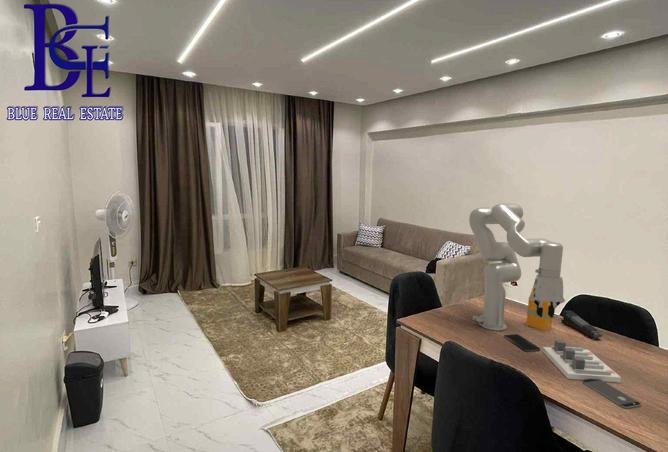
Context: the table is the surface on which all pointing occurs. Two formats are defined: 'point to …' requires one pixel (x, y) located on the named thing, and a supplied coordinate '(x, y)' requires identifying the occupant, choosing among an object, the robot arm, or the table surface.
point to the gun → (580, 324)
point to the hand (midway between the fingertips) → (545, 315)
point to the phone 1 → (522, 343)
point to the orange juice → (534, 319)
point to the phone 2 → (611, 393)
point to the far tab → (559, 345)
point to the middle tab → (568, 353)
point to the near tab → (578, 363)
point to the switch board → (591, 370)
